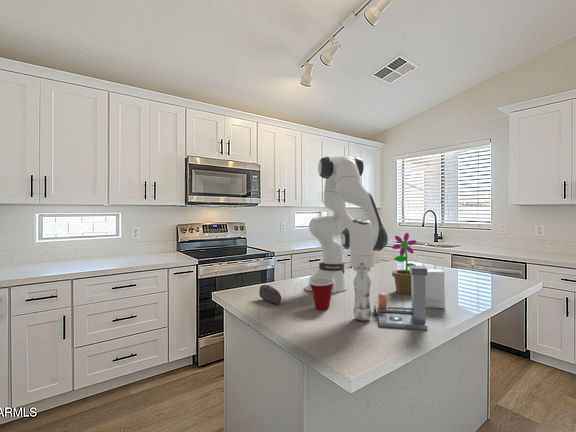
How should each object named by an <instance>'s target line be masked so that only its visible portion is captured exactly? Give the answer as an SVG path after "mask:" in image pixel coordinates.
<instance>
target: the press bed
mask: <svg viewBox="0 0 576 432" xmlns="http://www.w3.org/2000/svg"><path fill="white" fill-rule="evenodd" d="M427 269H428V268H427V267H426V266H425V265H416V266H409V267H408V270H409V272H410V273H411V295H410V296H411V308H412V315H411V314H395V313H379V312H378V313H377V317H378V318H377V319H378V327H380V328H382V327H383V328H393V329H394V328H395V329H405V330H406V329H407V330H408V329H409V330H422V331H428V324H427V323H426V322H427V321H426V320H427V319H426V314H427V313H426V310H427V309H426V307H425V275H426V276H427Z"/></svg>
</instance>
